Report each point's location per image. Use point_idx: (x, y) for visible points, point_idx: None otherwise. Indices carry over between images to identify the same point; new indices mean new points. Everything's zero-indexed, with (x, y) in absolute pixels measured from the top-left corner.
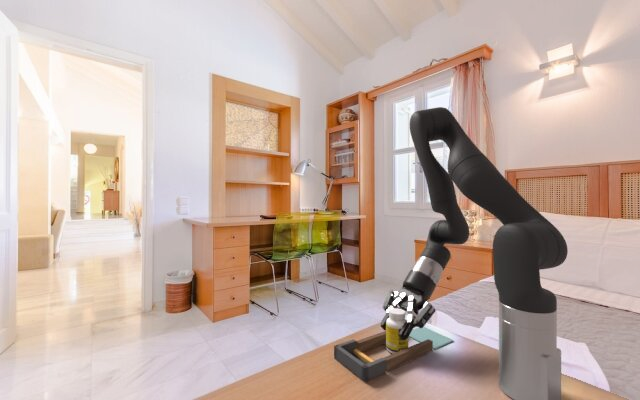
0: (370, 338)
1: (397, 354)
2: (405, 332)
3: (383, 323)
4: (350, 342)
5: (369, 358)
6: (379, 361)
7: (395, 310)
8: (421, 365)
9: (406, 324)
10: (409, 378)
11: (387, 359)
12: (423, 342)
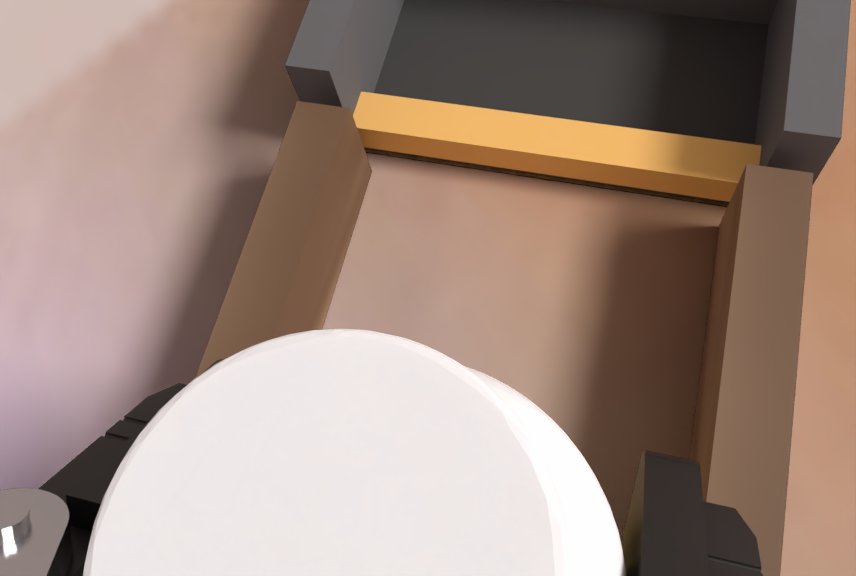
0: (739, 360)
1: (255, 264)
2: (147, 416)
3: (654, 479)
4: (799, 58)
5: (522, 144)
6: (316, 2)
7: (382, 573)
8: None
9: (97, 469)
10: (131, 222)
11: (298, 120)
12: None
